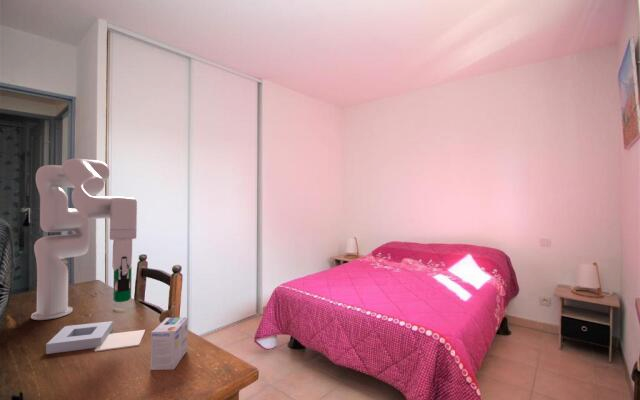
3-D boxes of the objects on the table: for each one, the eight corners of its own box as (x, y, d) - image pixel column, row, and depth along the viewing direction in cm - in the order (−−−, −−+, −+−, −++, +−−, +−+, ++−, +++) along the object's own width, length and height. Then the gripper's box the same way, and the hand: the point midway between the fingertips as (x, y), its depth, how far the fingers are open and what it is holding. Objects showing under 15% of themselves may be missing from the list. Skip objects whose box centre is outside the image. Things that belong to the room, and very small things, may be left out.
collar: (64, 334, 107) (65, 326, 107) (112, 329, 112) (112, 321, 112) (46, 354, 94) (46, 344, 94) (101, 346, 99) (101, 337, 99)
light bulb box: (165, 351, 96) (165, 316, 96) (187, 351, 97) (188, 316, 97) (149, 370, 86) (150, 331, 86) (174, 369, 86) (175, 331, 86)
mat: (105, 335, 107) (105, 334, 107) (145, 330, 111) (145, 329, 111) (94, 351, 96) (94, 350, 96) (139, 345, 100) (139, 344, 100)
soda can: (113, 303, 100) (113, 266, 100) (113, 299, 104) (113, 263, 104) (131, 301, 103) (132, 264, 103) (130, 297, 107) (131, 262, 107)
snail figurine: (180, 338, 106) (181, 302, 106) (165, 346, 100) (166, 308, 100) (168, 335, 108) (168, 300, 108) (152, 343, 102) (153, 306, 102)
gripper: (108, 232, 108) (107, 284, 108) (110, 237, 94) (110, 297, 94) (133, 231, 112) (133, 281, 112) (139, 236, 99) (138, 293, 99)
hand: (122, 288), depth 103 cm, fingers closed on soda can, 5 cm apart
